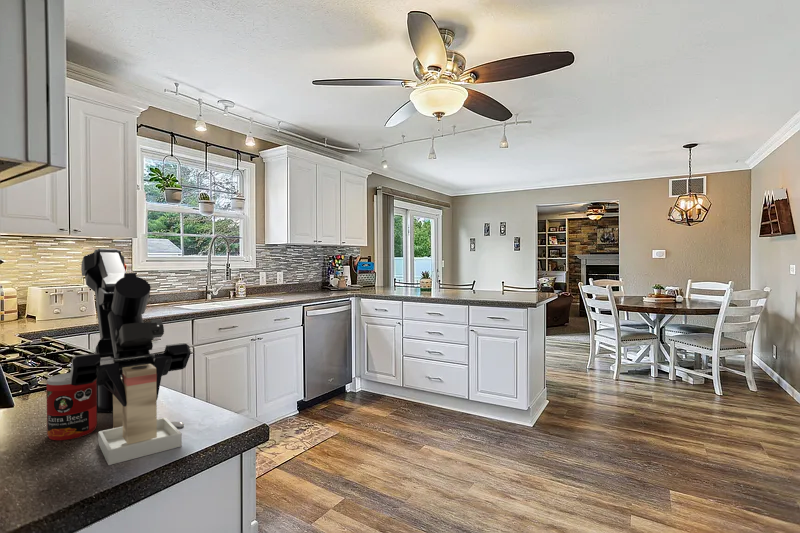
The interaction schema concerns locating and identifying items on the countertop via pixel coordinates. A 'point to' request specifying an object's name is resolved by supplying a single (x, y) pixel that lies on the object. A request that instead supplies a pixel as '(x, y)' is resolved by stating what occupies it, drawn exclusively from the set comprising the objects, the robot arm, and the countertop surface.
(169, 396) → the countertop surface
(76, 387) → the canned food
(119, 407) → the block
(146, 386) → the block
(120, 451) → the tray
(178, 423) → the pin gauge
